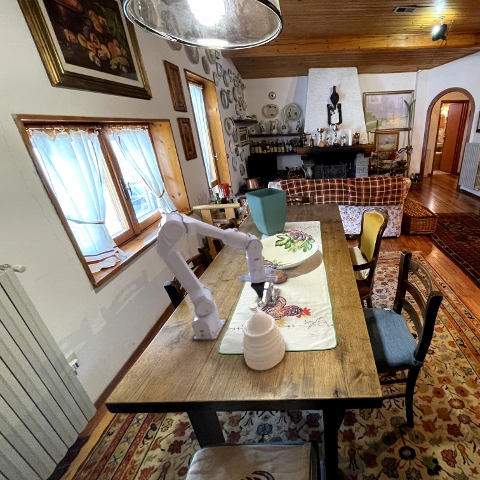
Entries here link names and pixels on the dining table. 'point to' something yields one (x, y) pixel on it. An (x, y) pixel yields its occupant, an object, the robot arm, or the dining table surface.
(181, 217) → the robot arm
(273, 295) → the bracket
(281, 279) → the cookie
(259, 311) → the honey pot
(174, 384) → the dining table surface
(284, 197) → the flower pot
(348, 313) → the dining table surface
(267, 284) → the tap lever
